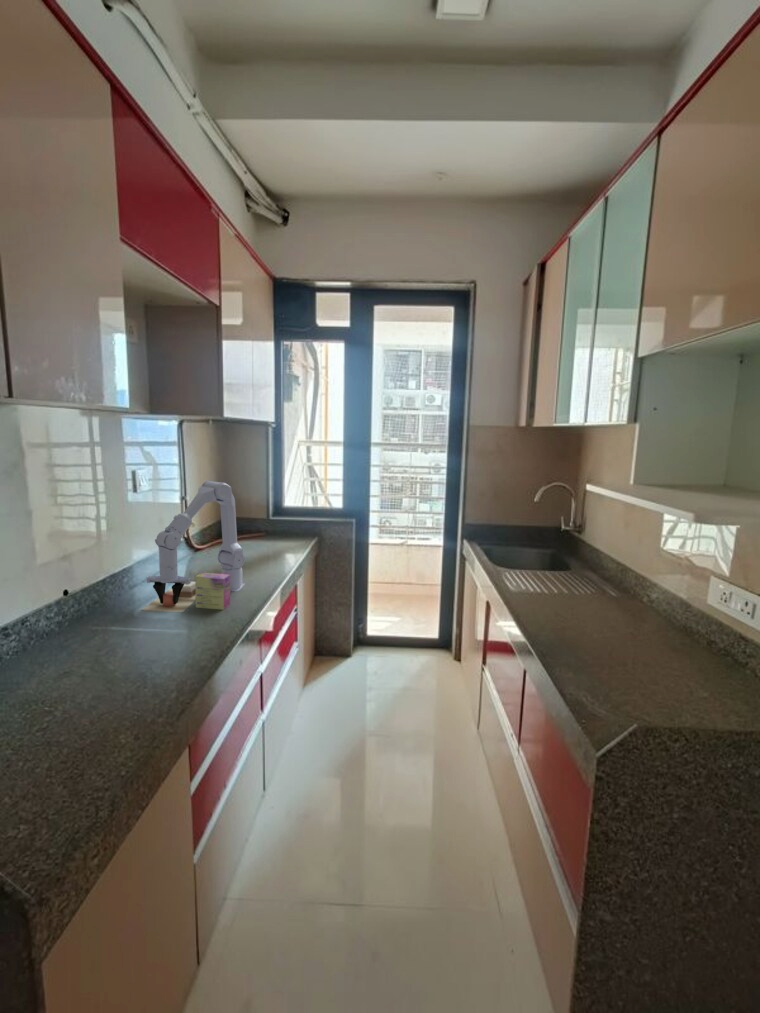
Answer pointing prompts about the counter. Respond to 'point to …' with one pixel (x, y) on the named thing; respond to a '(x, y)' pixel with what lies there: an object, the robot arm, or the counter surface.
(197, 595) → the box
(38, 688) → the counter surface
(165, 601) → the cylinder
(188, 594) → the bottom block
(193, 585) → the top block
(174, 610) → the board
